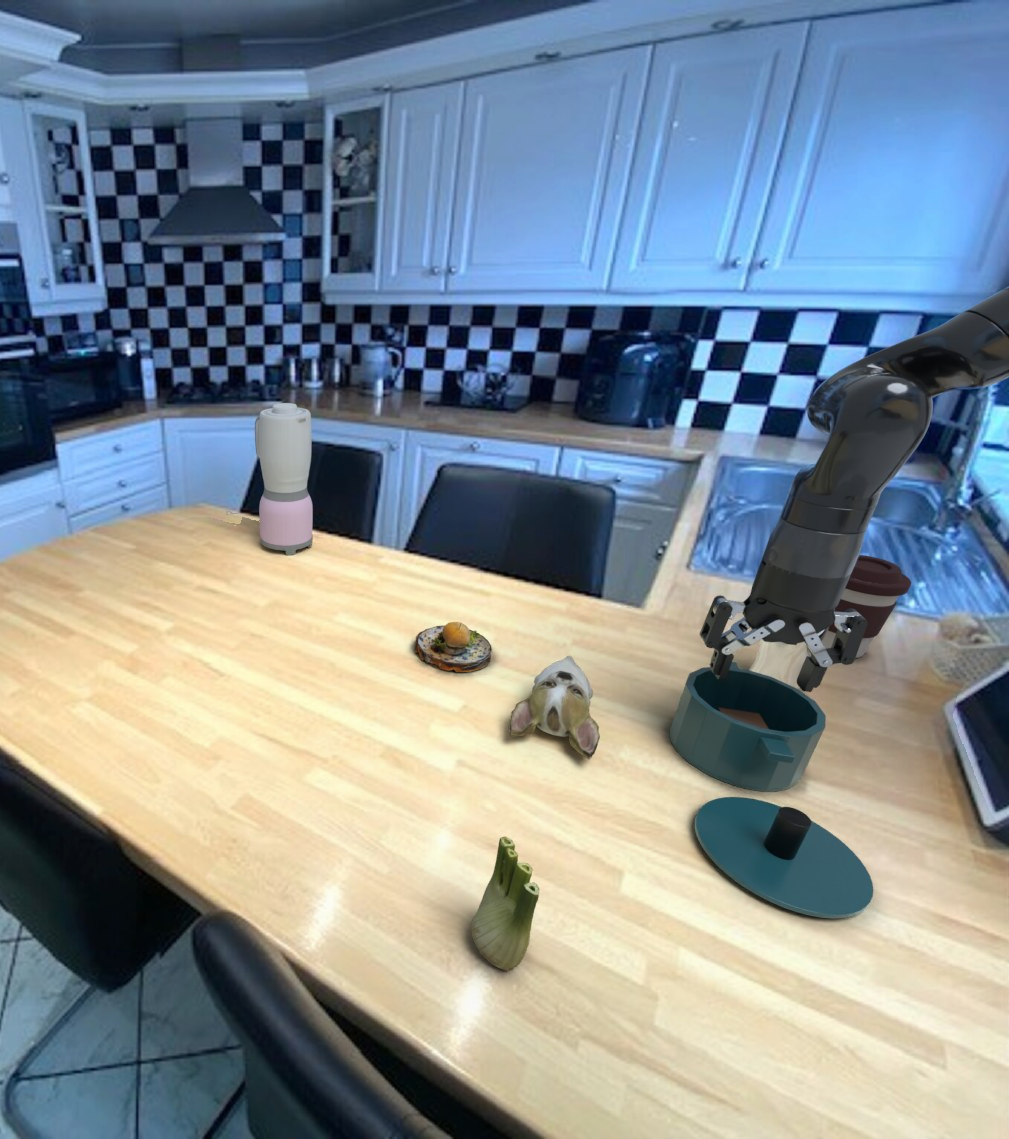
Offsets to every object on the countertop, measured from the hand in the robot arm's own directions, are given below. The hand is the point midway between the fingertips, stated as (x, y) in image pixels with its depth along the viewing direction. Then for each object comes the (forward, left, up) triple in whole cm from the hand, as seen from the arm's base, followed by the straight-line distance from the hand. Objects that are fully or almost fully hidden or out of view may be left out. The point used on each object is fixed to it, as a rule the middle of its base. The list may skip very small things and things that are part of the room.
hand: (759, 681), depth 75 cm
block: (0, 0, -11) cm, 10 cm away
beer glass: (-10, -18, -11) cm, 23 cm away
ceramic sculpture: (+21, +1, -11) cm, 24 cm away
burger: (+35, -14, -11) cm, 39 cm away
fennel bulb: (+29, +36, -11) cm, 48 cm away
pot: (0, 0, -11) cm, 11 cm away
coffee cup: (-23, -32, -11) cm, 41 cm away
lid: (+1, +17, -10) cm, 20 cm away
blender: (+75, -51, -11) cm, 91 cm away
